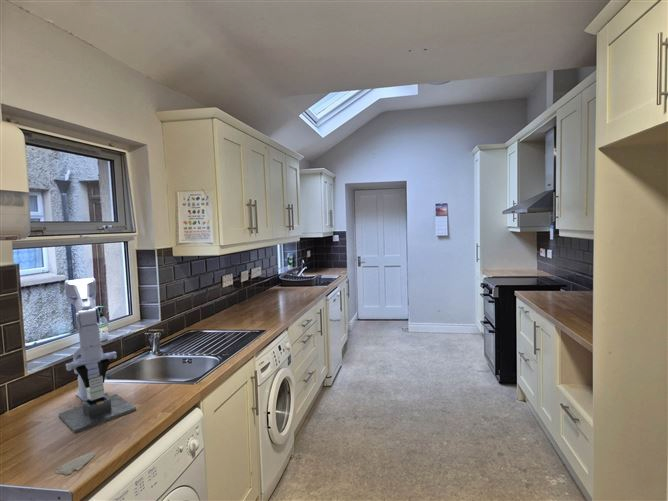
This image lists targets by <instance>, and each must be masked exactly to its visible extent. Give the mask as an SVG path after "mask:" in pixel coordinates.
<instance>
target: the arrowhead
mask: <svg viewBox="0 0 668 501" xmlns="http://www.w3.org/2000/svg"><path fill="white" fill-rule="evenodd" d="M95 456H96V451H90V452H89V453H86V454H83V455H80V456H78V457H76V458H74V459H72V460H70V461H69V462H65V463H64V464H62V465H61V466H59V467H57V468H56V469H55V472H54V474H56V475H61V474H62V475H65V476H69V475H71V474H72V473H73V472H75V471H79V470H81V469H82V468H84V466H85V465H86V464H87V463H88V462H90V461H91V460H92V459H93V458H94V457H95Z"/></svg>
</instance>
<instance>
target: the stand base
mask: <svg viewBox="0 0 668 501" xmlns="http://www.w3.org/2000/svg"><path fill="white" fill-rule="evenodd" d="M81 403H82V405H80V406H76V407H73V408H70V409H68V410H67V409H66V410H65V411H62V412H58V417H59V418H60V419H61V420H62V421H63V423H64V424H66V425H67V427H68V428H69V429H70V430H71V431H72V432H73V433H74V434H77V433H79V432H81V431H85V430H87V429H90V428H92V427H93V428H94V427H96V426H98V425H101V424H103V423H106V422H108V421H112V420H114V419H116V418H119V417H121V416H125V415H128V414H131V413H132V412H135V411H137V407H136V406H134V405H133V404H132V403H130V402H128V400H126V399H124V398H123V397H121V396H120V395H118V394H112V395H109V396H107V395H106V394H104V397H101V398H98V399H95V400H92V401H91V400H90V399H88V400H85V401H83V400H82V401H81Z"/></svg>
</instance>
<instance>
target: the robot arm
mask: <svg viewBox="0 0 668 501" xmlns="http://www.w3.org/2000/svg"><path fill="white" fill-rule="evenodd" d="M96 281H97V280H96V278H94V277H88V278H79V279H70V280H68V279H67V280H65V281H64V290H65V296H66V301H67V303H68V304H71V305H73V306H74V308H75V312H76V313H75V324H76V328H77V331H78V335H79V336H78V337H79V344H80V346H79V347H78V348H77V349H76V350H75V351H74V352H73V353H72V361H71V362H68V363H65V367H66V368H65V370H66V371H68V372H70V371H72V370H73V372H74V374H75V375H78V376H77V383H78V384H77V386H78V392H76V393H75V394H76V396H77V397H78V398H79V399H81V400H82V401H85V400H88V398H87V392H86V388H89V382H88V376H89V375H92V374H96V373H100V374H101V375H102V376H103V384H104V383H105V379H106V375H107V370H108V368H109V367H110V364H111V361H110V360H111V359H114V360H115V359H117V358H118V356H117V352H116V351H111V352H110V351H109V352H105V353H104V350H103V348H102V346H101V345H102V344H101V336H100V335H101V334H100V324H101V316H100V315H101V314H100V311H99V309H98V307H97V306H96V304H95V300H96V297H97V282H96ZM106 394H108V392H107V390H105V389H104V395H106Z"/></svg>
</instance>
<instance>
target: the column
mask: <svg viewBox="0 0 668 501" xmlns="http://www.w3.org/2000/svg"><path fill="white" fill-rule="evenodd" d="M88 382H89V388H86V392H87V398H88V399H90V400H91V401H92V400H95V399H98V398H101V397H104V395H105V394H104V390H105V386H104V383H103V376H102V375H101V374H100V373H96V374H92V375H89V376H88Z"/></svg>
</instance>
